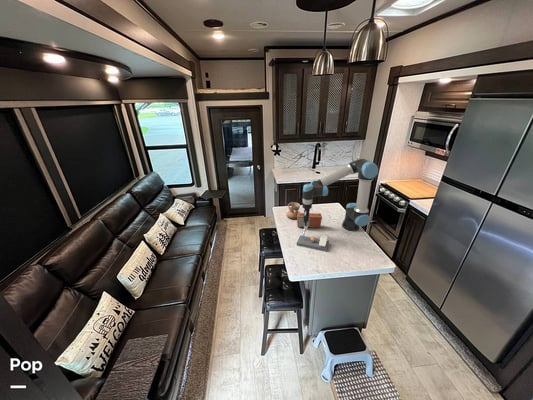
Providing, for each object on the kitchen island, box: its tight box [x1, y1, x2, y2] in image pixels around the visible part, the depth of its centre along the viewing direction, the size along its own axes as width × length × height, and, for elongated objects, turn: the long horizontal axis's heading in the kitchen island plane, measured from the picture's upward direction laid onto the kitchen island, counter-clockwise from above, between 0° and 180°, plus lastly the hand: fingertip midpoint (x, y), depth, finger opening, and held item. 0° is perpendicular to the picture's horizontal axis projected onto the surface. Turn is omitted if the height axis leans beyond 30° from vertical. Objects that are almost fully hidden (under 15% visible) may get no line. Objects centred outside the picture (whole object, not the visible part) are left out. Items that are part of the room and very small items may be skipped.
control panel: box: [296, 212, 323, 228], centre depth 200 cm, size 21×7×15 cm, turn 85°
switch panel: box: [296, 235, 330, 252], centre depth 176 cm, size 24×12×4 cm, turn 67°
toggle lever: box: [302, 228, 307, 239], centre depth 179 cm, size 2×2×8 cm
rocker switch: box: [319, 234, 328, 247], centre depth 172 cm, size 5×11×1 cm, turn 157°
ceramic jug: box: [286, 201, 301, 220], centre depth 219 cm, size 18×14×14 cm
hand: (305, 228), depth 184 cm, fingers closed
